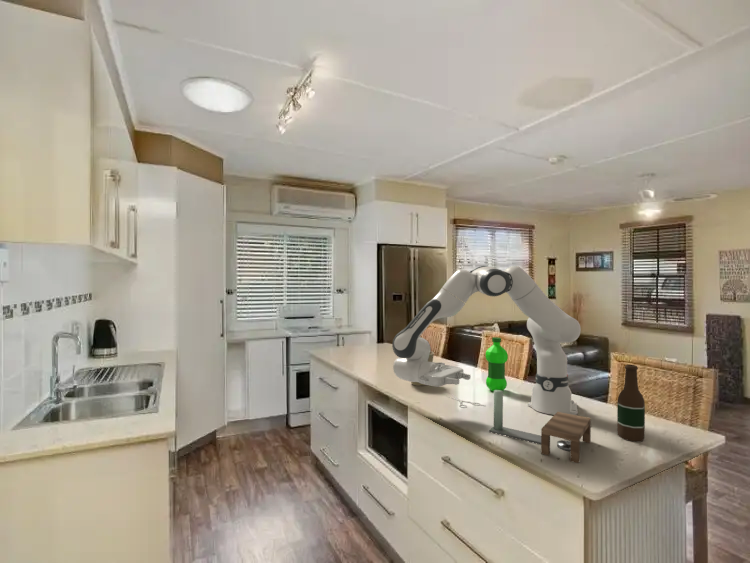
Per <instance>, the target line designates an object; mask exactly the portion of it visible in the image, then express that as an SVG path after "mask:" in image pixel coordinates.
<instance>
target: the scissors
mask: <svg viewBox="0 0 750 563" xmlns="http://www.w3.org/2000/svg"><path fill="white" fill-rule="evenodd" d="M451 396H452V397H451ZM451 396H447V395H446V397H447V398H450V399H452V400H455V401H457V402H459V405H458V406H459V408H463V409H466V408H468V406H467V405H465V404H463V403H467V404H471V405H473V406H475V407H476V406H477V407H479V406H481V407H486V404H481V403H479V402H471V401H465V400H463V399H462V400H461V399H459V398H458V397H456V395H453V394H451Z"/></svg>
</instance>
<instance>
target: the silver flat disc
mask: <svg viewBox="0 0 750 563" xmlns="http://www.w3.org/2000/svg"><path fill="white" fill-rule="evenodd" d="M556 447H557V449H560V450H561V451H566V452H571V440H566V439H563V440H562V439H561V440H557V442H556Z"/></svg>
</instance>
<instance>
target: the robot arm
mask: <svg viewBox="0 0 750 563" xmlns="http://www.w3.org/2000/svg"><path fill="white" fill-rule="evenodd" d="M477 292H479V293H480V294H483V295H486V296H488V297H499V296H501V295H504V294H505V293H507V294H508V296H509V297H510V298H511V300H512V302H514V304H515V305H516V306H517V307H518V308H519V309H520V311H521V313H523V315H525V316H526V317H528V318H527V321H526V328H527V330H528V332H529V333H530V335H531V337H532V339H533V343H534V347H535V352H536V359H537V360H536V373H535V384H534V385H532V388H531V398H530V399H531V401H529V402H527V405H526V406H527V407H531V408H532V409H533V410H534V411H537V412H540V413H543V414H546V415H547V414H548V415H553V416H554V415H555V414H556V413H557V412H562V413H567V414H572V415H577V416H578V414H579V413H578V403H577V402H575V401H574V400H572V391H571V388H570V386H569V385H570V384H569V375H568V356H567V354H566V353H565V351H564V350H563V348H562V346H561V345H562V344H566V343H572V342H575V341H576V340H578V338H579V337H580V335H581V333H582V331H581V329H582V327H581V325H580V323H579V320H577V319H576V318H574V317H572V316H570V315H569V314H568V313H566V312H565V311H564V310H562V309H561V308H560V307H559V306H558V305H557V304H555V303H554V302H553V301H552V300H551V299H550V298H549V297H548V296H547V295H546V294H545V293H544V291H543V290H542V289H541V287H539V285H538V284H537V283H536V281H535V280H534V279H533V278H532V277H531V275H530V274H529V273H527V272H526V271H525V270H524V269H523V268H521V267H520V266H517V265H512V266H508V267H507V268H506V269H504V270H502V269H499V268H496V267H493V266H488V265H483V266H479V267H475V268H474V269H472V270H466V269H458V270H456V271H455V272H454V273H453V274H452V275H451V276H450V277H449V278H448V279H447V280H446V282H445V283H444V284H443V285H442V287H441V288H440V290H439V291H438V292H437V294H436V295H435V296H434V297H433V298H432V299H431V300H429V301H428V302H427V303H426V304H424V306H423V307H422V308H421V309H420V310H419V311H418V312H417V314H416V315H415V316H414V317H413V319H411V320H410V322H409V323H408V324H407V326H405V327H404V328H403V329H401V331H399V332H398V333H396V335H395V336H394V338H393V339H392V351H393V353H394V354H395V356H396V357H397V358H395V359H394V361H393V364H392V365H393V366H392V367H393V368H392V369H393V373H394V374H395V376H396V377H397V378H398V379H400V380H403V381H407V382H419V383H421V384H425V385H424V386H431V387H437V388H438V387H439V388H440V387H443V386H446V385H459V384H460V380H461V379H463V380H467V381H469V380H471V374H469V373H466V372H464V369H463V368H462V367H459V366H454V365H450V364H446V363H445V362H435V361H433V362H428V359H429V355H430V351H431V350H432V348H431V344H430V342H429V341H428V340H427V339H425V338H424V337H421V336H422V334H423V333H424V332H425V331H426V330H427V329H428V327H429V326H430V325H431V324H432V323H433V322H434V321H436V320H439V319H442V318H451V317H454V316H456V315H458V313H459V312H460V311H462V309H463V308H464V306H465V304H466V303H467V302H468V301H469V298H470V297H471V296H472V295H474V294H475V293H477Z"/></svg>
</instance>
